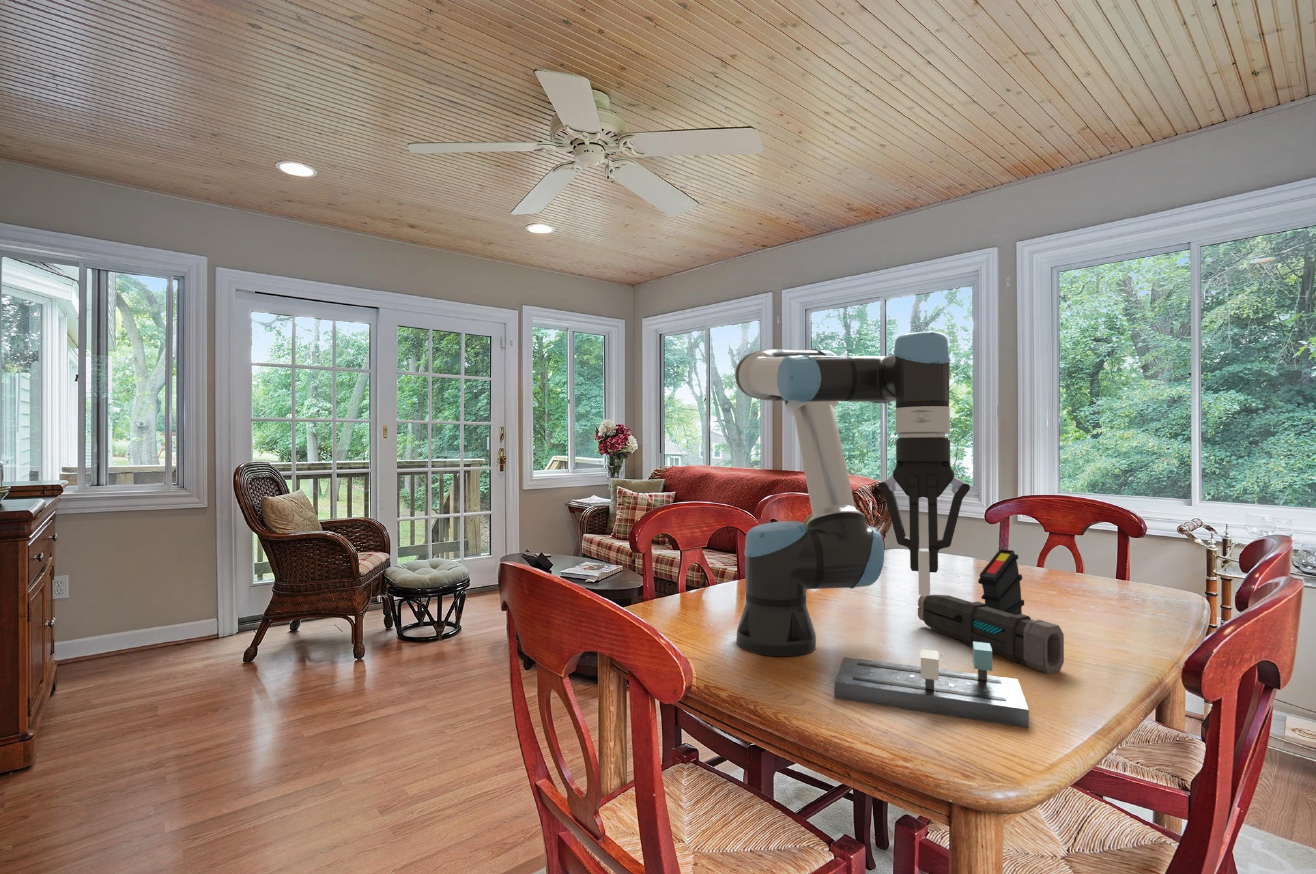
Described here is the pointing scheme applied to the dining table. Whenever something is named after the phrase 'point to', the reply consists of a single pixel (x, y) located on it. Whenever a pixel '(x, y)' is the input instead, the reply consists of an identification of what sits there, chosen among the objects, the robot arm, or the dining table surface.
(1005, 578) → the magazine
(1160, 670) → the dining table surface
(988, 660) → the fader far
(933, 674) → the fader near
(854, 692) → the console
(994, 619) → the tube
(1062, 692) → the dining table surface
